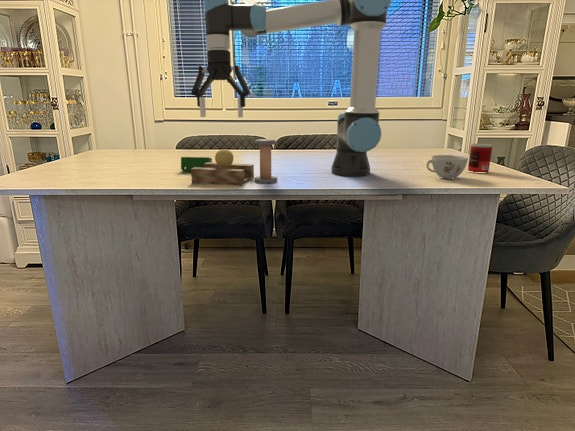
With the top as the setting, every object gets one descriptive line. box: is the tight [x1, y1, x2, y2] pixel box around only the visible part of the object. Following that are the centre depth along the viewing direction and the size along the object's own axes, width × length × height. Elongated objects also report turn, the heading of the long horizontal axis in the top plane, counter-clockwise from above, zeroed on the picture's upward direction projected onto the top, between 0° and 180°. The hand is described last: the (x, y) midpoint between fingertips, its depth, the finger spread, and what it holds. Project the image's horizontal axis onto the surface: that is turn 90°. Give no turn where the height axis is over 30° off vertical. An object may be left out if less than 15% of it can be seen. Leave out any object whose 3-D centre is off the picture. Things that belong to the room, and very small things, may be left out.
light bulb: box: [214, 149, 234, 169], centre depth 142 cm, size 6×6×10 cm
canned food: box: [467, 143, 493, 173], centre depth 161 cm, size 8×8×11 cm
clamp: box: [180, 156, 213, 173], centre depth 161 cm, size 12×6×9 cm, turn 80°
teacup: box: [426, 154, 469, 179], centre depth 149 cm, size 15×12×8 cm
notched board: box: [190, 162, 255, 187], centre depth 143 cm, size 18×14×5 cm
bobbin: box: [253, 138, 278, 185], centre depth 140 cm, size 8×8×14 cm
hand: (221, 117), depth 137 cm, fingers open, 13 cm apart
